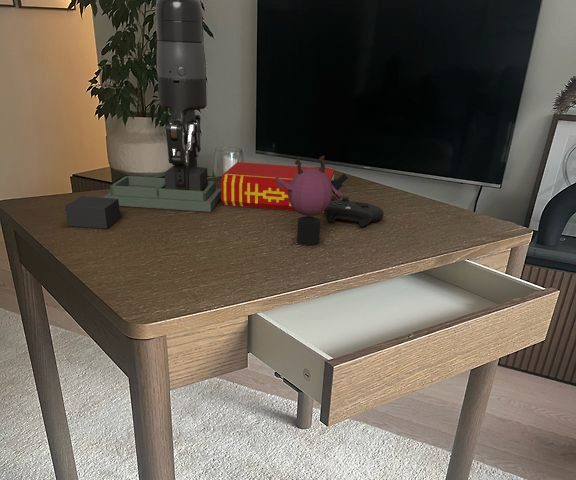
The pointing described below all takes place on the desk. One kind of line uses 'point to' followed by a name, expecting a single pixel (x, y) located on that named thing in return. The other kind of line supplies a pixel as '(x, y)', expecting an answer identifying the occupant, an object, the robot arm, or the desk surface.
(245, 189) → the book
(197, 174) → the pad
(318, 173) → the figurine
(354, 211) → the game controller
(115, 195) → the divided tray
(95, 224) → the pad
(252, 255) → the desk surface
